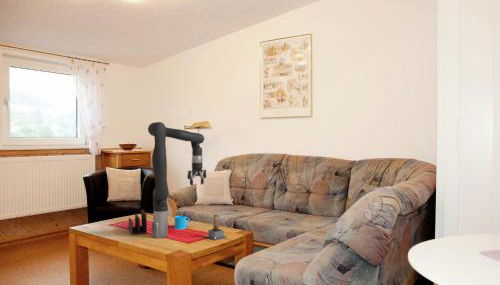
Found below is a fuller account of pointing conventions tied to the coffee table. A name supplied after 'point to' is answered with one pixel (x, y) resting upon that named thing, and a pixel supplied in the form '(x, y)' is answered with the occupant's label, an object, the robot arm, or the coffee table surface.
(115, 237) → the coffee table surface
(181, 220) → the mug
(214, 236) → the grey square block
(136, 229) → the letter holder
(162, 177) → the robot arm
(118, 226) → the coffee table surface
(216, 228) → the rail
